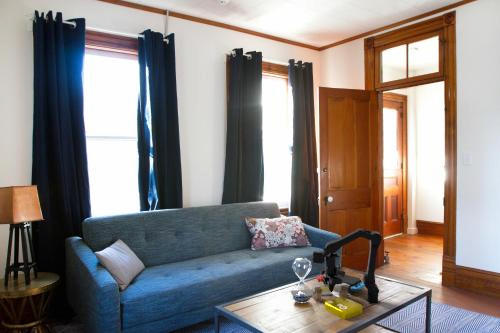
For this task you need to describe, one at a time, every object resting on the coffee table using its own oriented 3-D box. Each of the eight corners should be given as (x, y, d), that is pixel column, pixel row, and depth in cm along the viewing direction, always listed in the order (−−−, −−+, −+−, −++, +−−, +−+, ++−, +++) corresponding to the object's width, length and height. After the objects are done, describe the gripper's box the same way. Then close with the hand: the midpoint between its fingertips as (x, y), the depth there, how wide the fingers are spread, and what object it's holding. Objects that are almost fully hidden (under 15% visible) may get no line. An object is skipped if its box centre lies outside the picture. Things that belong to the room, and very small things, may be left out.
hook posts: (348, 299, 213) (348, 286, 212) (316, 302, 209) (316, 289, 209) (343, 295, 219) (343, 282, 219) (312, 297, 215) (312, 284, 215)
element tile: (364, 313, 196) (364, 304, 196) (343, 320, 188) (344, 311, 188) (342, 303, 209) (342, 295, 208) (323, 309, 201) (323, 301, 200)
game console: (368, 280, 226) (356, 286, 216) (368, 290, 226) (356, 297, 216) (328, 269, 245) (315, 275, 235) (327, 279, 246) (315, 285, 235)
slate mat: (332, 295, 219) (332, 293, 219) (295, 298, 215) (295, 296, 215) (326, 289, 228) (326, 288, 228) (290, 292, 224) (290, 290, 224)
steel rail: (347, 290, 214) (347, 284, 214) (314, 292, 210) (314, 287, 210) (345, 288, 217) (345, 282, 217) (312, 290, 214) (312, 285, 213)
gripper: (351, 268, 205) (350, 296, 206) (337, 258, 224) (336, 284, 225) (332, 269, 203) (331, 297, 204) (319, 259, 222) (319, 285, 222)
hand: (330, 291), depth 214 cm, fingers closed on steel rail, 3 cm apart
